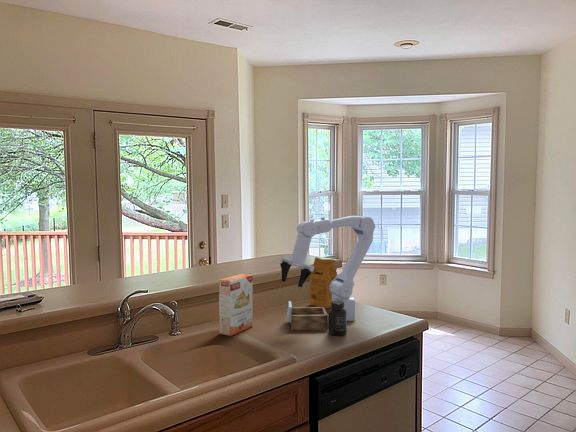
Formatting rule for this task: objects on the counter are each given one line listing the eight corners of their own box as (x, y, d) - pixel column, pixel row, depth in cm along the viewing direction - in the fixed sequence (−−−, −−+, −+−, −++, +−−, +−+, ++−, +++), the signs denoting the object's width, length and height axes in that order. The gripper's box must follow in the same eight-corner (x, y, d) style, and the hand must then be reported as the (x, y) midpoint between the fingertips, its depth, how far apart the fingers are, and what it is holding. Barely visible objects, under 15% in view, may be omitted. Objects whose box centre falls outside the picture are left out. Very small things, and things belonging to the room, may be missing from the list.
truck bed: (324, 320, 197) (324, 307, 197) (327, 329, 185) (327, 315, 185) (290, 320, 197) (290, 307, 196) (291, 329, 185) (291, 315, 184)
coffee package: (320, 301, 228) (320, 255, 226) (340, 306, 219) (340, 258, 217) (305, 305, 221) (305, 257, 219) (326, 310, 212) (326, 261, 210)
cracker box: (231, 337, 176) (230, 281, 175) (218, 334, 180) (217, 279, 178) (253, 327, 188) (253, 274, 187) (241, 324, 192) (241, 272, 190)
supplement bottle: (348, 332, 182) (349, 301, 181) (343, 337, 176) (343, 305, 175) (331, 329, 185) (331, 299, 184) (325, 335, 178) (325, 303, 177)
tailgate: (289, 316, 195) (291, 301, 195) (290, 323, 186) (292, 307, 185) (287, 316, 195) (288, 301, 195) (287, 323, 186) (289, 307, 185)
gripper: (280, 245, 191) (271, 278, 190) (312, 254, 184) (302, 289, 183) (288, 247, 197) (279, 279, 196) (319, 256, 190) (310, 289, 189)
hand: (291, 284), depth 190 cm, fingers open, 7 cm apart
